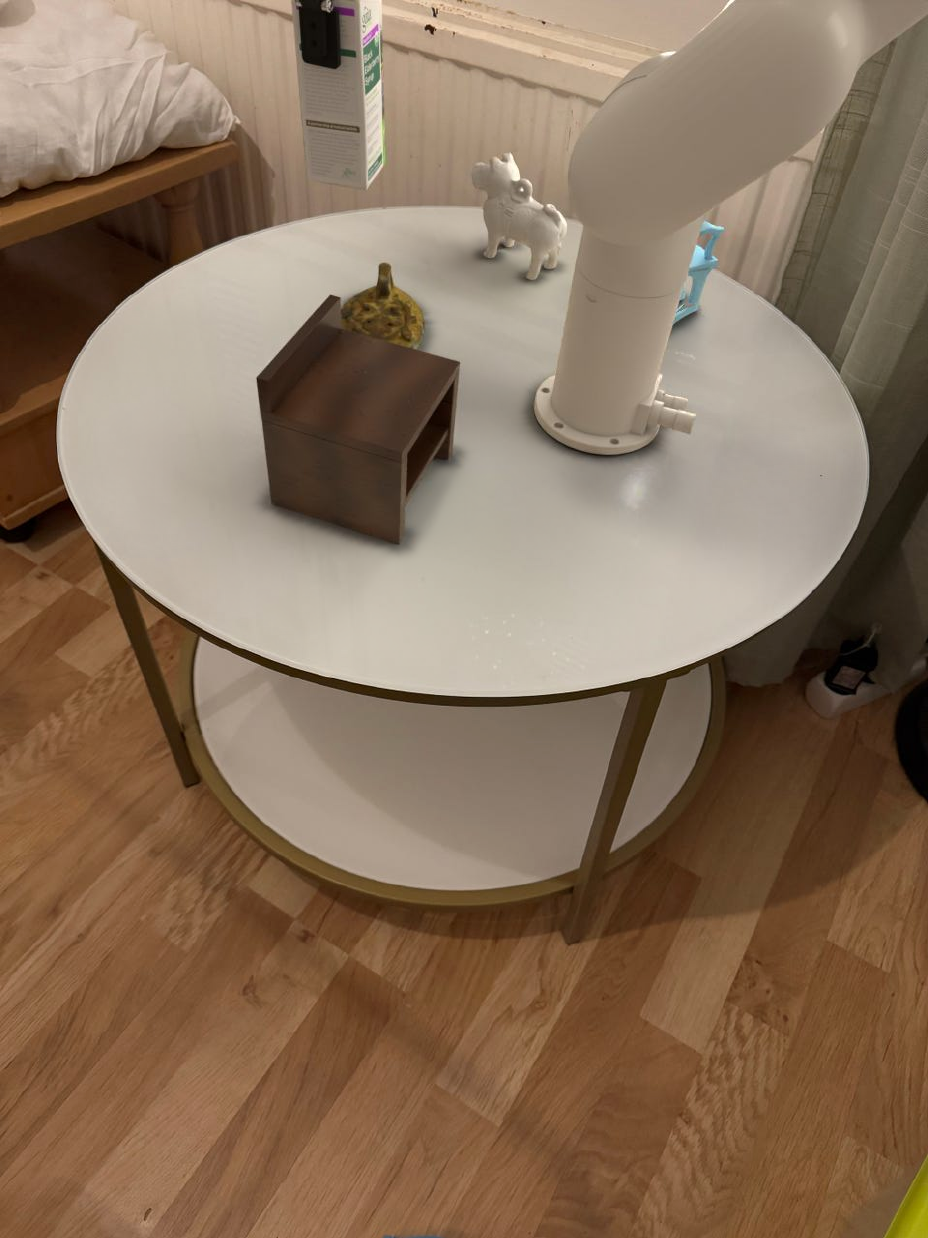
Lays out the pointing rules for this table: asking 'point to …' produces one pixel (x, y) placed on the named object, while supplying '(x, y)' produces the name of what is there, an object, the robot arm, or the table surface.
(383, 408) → the shelf
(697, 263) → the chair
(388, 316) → the seal
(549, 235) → the dog figurine
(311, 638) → the table surface
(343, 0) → the syrup box
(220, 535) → the table surface
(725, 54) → the robot arm
